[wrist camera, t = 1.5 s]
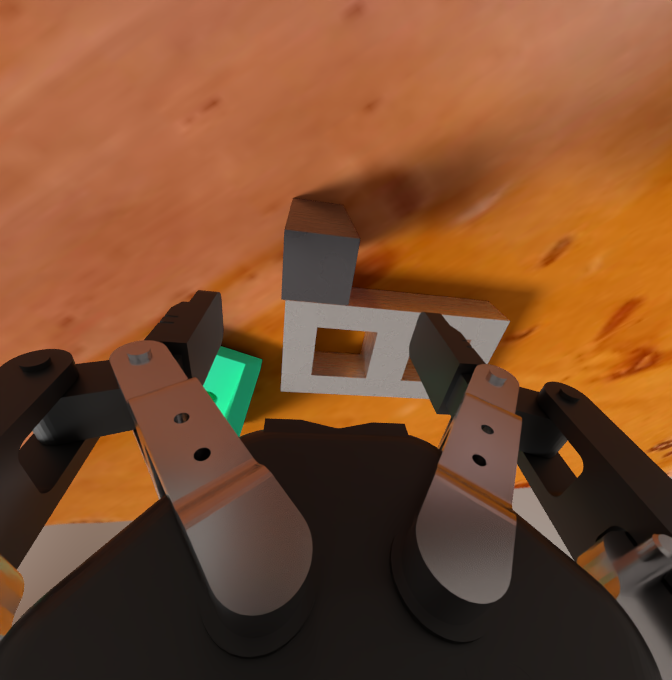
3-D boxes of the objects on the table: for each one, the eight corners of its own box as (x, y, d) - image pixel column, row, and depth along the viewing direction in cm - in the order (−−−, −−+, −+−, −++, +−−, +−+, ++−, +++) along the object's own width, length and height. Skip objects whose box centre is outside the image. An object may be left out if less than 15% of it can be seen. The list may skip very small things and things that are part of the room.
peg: (293, 197, 24) (284, 229, 15) (342, 204, 24) (360, 238, 16) (290, 248, 26) (281, 299, 18) (336, 253, 26) (348, 305, 18)
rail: (288, 280, 28) (285, 300, 24) (488, 301, 30) (510, 320, 27) (283, 365, 33) (280, 391, 30) (453, 376, 36) (468, 400, 32)
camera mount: (189, 328, 30) (141, 404, 21) (263, 353, 32) (247, 430, 24) (167, 407, 35) (122, 493, 27) (232, 423, 38) (209, 507, 29)
